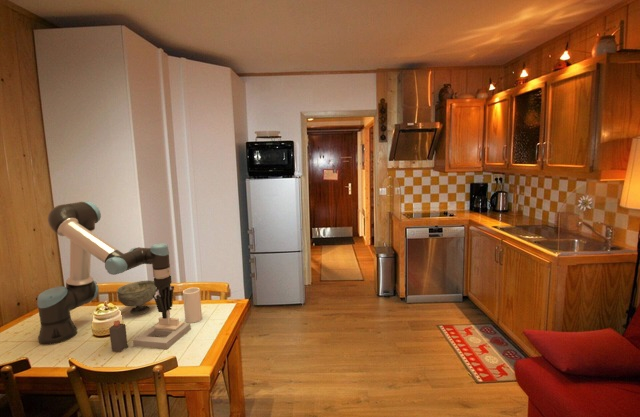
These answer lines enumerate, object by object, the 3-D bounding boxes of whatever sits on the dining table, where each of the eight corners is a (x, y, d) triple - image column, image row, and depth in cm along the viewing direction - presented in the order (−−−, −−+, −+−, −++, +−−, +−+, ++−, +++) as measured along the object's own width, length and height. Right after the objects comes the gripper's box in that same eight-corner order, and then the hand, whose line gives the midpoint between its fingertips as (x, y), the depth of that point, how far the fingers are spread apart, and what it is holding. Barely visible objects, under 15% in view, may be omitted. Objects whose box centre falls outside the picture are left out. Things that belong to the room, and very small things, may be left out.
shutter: (153, 328, 169) (152, 321, 169) (163, 321, 177) (162, 314, 176) (175, 330, 167) (174, 322, 166) (184, 323, 174) (183, 315, 174)
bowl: (134, 303, 209) (131, 279, 207) (165, 304, 206) (162, 279, 204) (110, 318, 190) (107, 291, 188) (143, 319, 187) (140, 292, 185)
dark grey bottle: (111, 351, 156) (108, 323, 155) (119, 346, 161) (116, 319, 159) (120, 352, 156) (117, 324, 154) (127, 346, 160) (124, 319, 158)
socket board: (133, 346, 160) (132, 340, 160) (160, 326, 178) (159, 321, 178) (166, 349, 157) (166, 343, 156) (190, 329, 175) (190, 323, 174)
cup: (196, 323, 181) (194, 293, 178) (182, 322, 182) (179, 292, 180) (204, 316, 189) (202, 287, 186) (191, 315, 190) (188, 287, 188)
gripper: (160, 281, 160) (165, 330, 163) (177, 272, 172) (181, 318, 176) (145, 280, 161) (151, 329, 165) (164, 271, 174) (168, 317, 177)
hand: (167, 323), depth 170 cm, fingers closed
